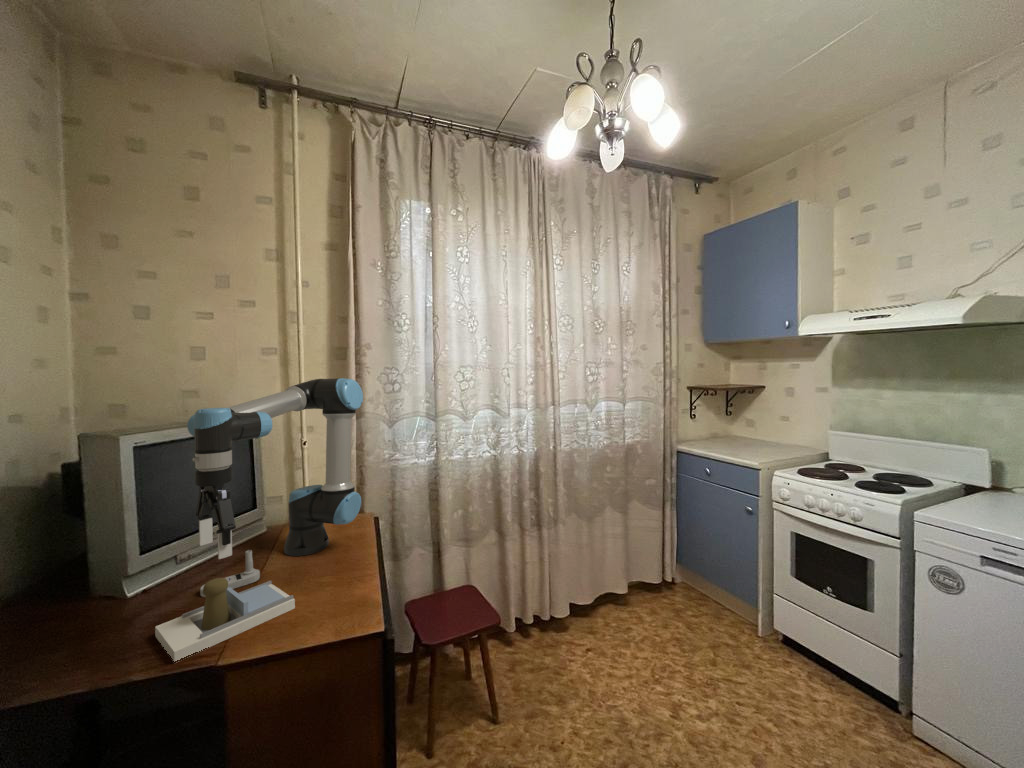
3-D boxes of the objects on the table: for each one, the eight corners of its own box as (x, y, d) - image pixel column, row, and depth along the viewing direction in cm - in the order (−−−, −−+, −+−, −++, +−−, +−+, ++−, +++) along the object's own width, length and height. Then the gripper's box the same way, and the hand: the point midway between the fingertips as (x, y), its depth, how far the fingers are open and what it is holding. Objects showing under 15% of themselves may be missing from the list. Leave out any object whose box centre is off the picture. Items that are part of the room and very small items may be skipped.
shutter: (265, 586, 115) (265, 573, 115) (285, 599, 108) (284, 586, 108) (225, 601, 107) (225, 588, 107) (243, 617, 100) (243, 603, 100)
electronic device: (198, 561, 117) (257, 545, 127) (200, 593, 117) (258, 575, 127) (199, 567, 113) (259, 551, 123) (201, 601, 113) (261, 581, 123)
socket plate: (269, 590, 117) (269, 579, 117) (294, 608, 108) (294, 596, 108) (155, 636, 96) (155, 623, 96) (174, 663, 87) (174, 648, 87)
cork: (211, 616, 103) (211, 575, 103) (235, 615, 103) (235, 574, 103) (195, 631, 97) (194, 587, 97) (220, 629, 97) (220, 585, 97)
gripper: (180, 464, 104) (181, 543, 104) (213, 477, 89) (215, 569, 89) (214, 460, 110) (215, 534, 110) (250, 471, 95) (251, 557, 96)
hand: (215, 550), depth 100 cm, fingers open, 13 cm apart
